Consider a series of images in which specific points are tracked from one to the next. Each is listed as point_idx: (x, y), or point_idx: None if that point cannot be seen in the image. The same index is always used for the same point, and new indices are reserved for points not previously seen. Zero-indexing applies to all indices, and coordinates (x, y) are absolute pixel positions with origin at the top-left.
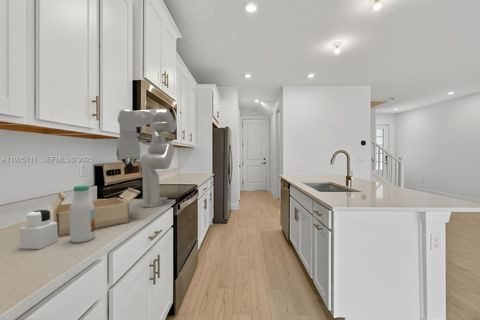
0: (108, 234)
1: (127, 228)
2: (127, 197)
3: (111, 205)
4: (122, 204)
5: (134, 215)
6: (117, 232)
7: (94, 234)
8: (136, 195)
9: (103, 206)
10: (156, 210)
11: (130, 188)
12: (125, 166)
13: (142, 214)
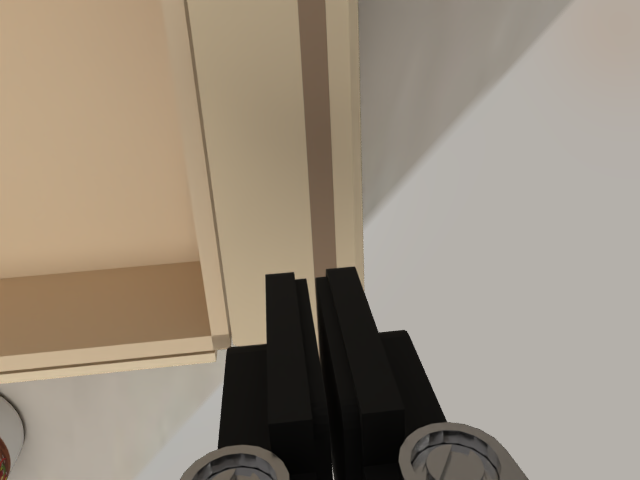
0: (95, 424)
1: (203, 383)
2: (242, 239)
3: (76, 363)
4: (173, 357)
5: None
6: (143, 419)
7: (17, 457)
8: None
9: (7, 364)
10: (538, 29)
11: (340, 17)
12: (221, 416)
13: (384, 96)
